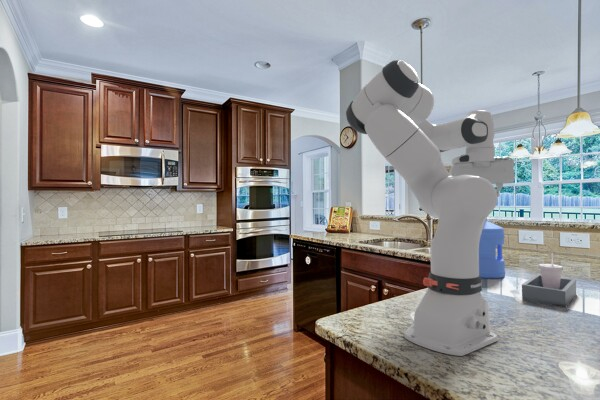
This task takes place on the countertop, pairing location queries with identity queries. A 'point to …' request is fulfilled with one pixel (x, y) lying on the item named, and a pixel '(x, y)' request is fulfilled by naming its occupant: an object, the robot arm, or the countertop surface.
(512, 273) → the countertop surface
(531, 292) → the crate
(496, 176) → the robot arm
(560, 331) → the countertop surface
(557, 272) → the smoothie
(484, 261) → the water jug
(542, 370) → the countertop surface
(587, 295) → the countertop surface
